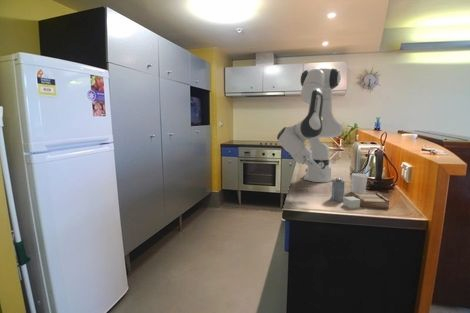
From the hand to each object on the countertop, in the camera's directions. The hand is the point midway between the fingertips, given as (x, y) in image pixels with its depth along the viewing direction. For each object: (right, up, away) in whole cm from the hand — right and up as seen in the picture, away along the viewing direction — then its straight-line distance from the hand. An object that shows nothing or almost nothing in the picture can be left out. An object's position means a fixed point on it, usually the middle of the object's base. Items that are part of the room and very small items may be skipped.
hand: (322, 175), depth 132 cm
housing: (+8, -13, +1) cm, 15 cm away
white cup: (+24, -11, +14) cm, 30 cm away
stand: (+21, -13, -4) cm, 26 cm away
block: (+11, -14, -8) cm, 20 cm away
